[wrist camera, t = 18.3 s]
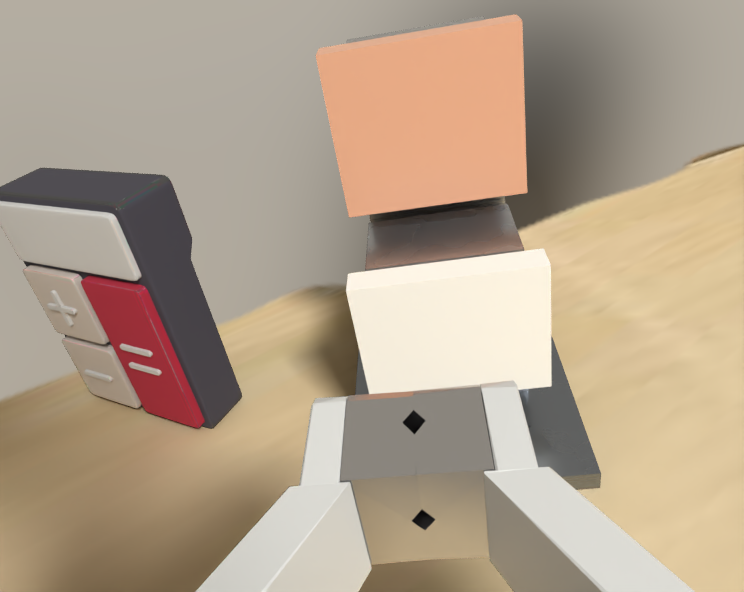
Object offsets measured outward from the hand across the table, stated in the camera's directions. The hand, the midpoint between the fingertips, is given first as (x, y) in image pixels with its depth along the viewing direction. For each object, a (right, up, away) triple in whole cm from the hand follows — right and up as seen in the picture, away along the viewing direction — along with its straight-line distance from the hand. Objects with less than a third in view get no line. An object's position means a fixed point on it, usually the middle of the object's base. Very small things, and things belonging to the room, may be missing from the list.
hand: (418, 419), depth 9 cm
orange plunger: (+3, +9, +25) cm, 26 cm away
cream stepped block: (+4, -1, +24) cm, 25 cm away
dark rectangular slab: (-14, -5, +31) cm, 34 cm away
